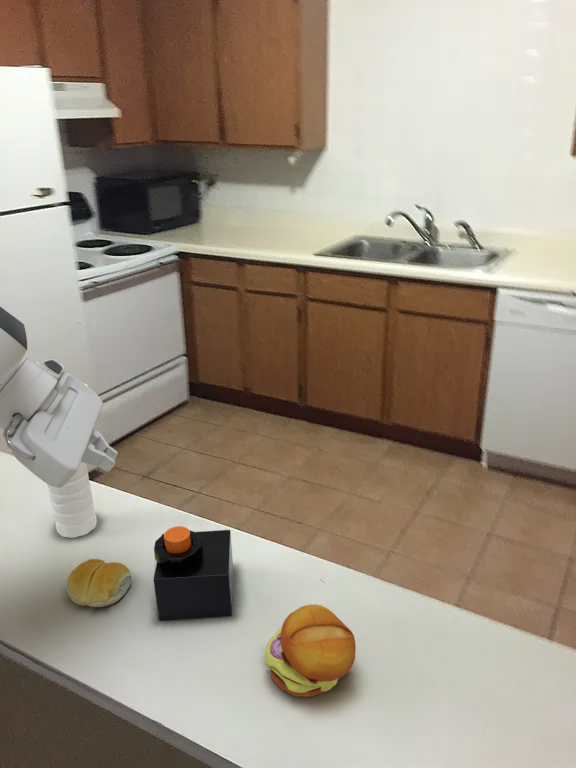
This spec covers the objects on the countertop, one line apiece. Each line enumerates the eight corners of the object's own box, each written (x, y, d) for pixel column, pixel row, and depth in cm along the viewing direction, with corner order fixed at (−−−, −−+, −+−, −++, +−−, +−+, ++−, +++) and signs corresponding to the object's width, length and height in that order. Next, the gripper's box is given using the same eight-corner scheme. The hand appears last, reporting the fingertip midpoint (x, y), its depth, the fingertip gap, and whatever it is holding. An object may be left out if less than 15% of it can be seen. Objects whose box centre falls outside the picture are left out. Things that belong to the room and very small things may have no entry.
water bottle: (58, 542, 108) (29, 403, 98) (55, 521, 114) (27, 387, 104) (113, 529, 111) (90, 392, 101) (107, 508, 117) (85, 377, 107)
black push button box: (157, 621, 92) (149, 568, 88) (165, 573, 101) (158, 523, 97) (232, 616, 92) (227, 563, 88) (233, 568, 101) (229, 519, 97)
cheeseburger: (297, 624, 90) (310, 573, 85) (361, 676, 85) (380, 625, 80) (246, 671, 83) (258, 618, 78) (313, 730, 78) (330, 679, 73)
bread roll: (87, 567, 103) (83, 545, 101) (139, 577, 100) (136, 555, 98) (55, 603, 95) (50, 581, 94) (110, 615, 93) (106, 592, 91)
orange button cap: (163, 555, 91) (162, 542, 90) (166, 538, 94) (165, 526, 93) (190, 553, 91) (188, 541, 90) (192, 537, 94) (191, 525, 94)
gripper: (15, 419, 73) (117, 489, 78) (58, 353, 92) (137, 413, 96) (-19, 457, 75) (83, 524, 79) (30, 385, 93) (110, 442, 98)
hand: (113, 462), depth 88 cm, fingers closed
